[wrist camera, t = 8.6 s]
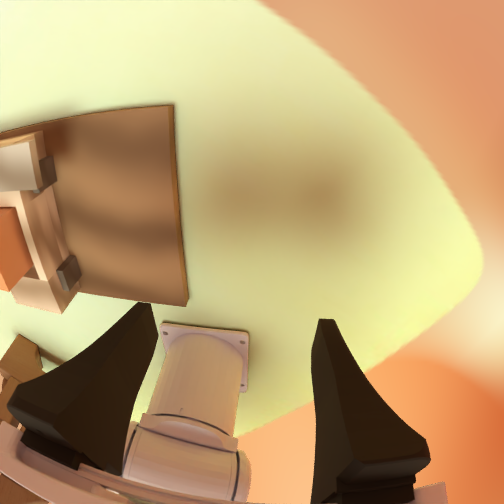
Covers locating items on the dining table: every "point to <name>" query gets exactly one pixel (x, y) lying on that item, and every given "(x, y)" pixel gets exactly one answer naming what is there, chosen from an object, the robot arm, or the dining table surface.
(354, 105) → the dining table surface
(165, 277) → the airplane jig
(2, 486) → the wooden toy
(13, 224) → the orange upright block
